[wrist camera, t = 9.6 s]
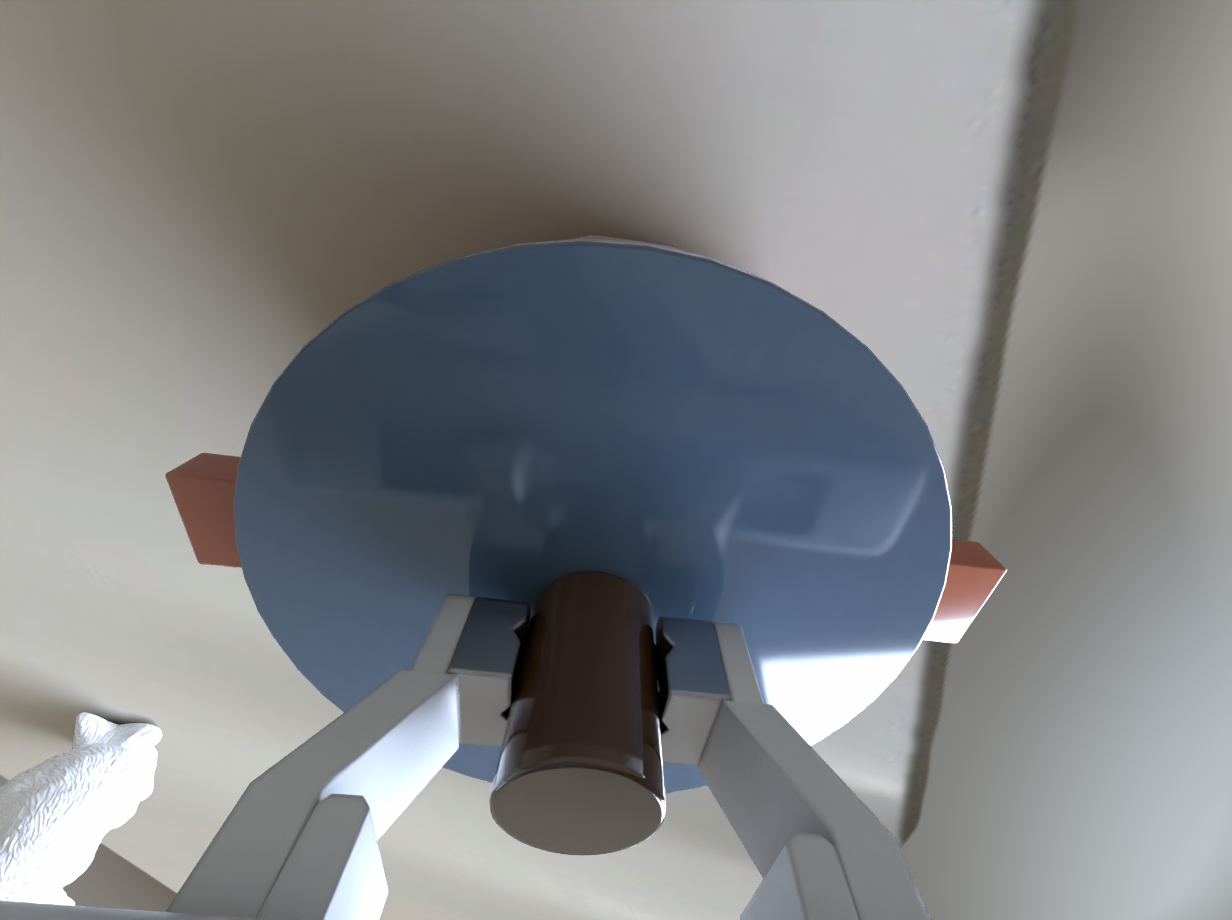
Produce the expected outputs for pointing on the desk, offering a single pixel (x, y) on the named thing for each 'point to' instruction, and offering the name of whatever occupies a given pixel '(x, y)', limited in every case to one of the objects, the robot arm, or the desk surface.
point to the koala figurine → (72, 807)
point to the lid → (594, 507)
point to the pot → (211, 530)
